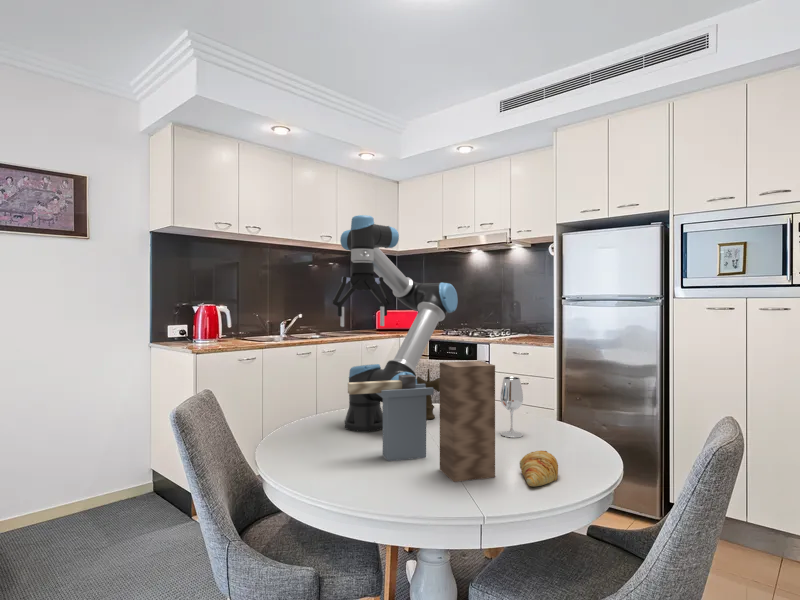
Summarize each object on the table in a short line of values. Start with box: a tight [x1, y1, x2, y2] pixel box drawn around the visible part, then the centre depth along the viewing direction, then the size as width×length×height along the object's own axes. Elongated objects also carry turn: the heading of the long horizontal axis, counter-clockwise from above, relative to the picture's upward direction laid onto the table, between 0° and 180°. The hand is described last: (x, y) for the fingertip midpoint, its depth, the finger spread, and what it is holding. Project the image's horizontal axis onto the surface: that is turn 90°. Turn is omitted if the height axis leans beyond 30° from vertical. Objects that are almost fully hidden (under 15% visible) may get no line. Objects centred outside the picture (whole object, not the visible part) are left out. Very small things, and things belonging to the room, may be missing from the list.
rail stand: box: [376, 384, 435, 462], centre depth 151 cm, size 16×8×21 cm, turn 107°
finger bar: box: [347, 375, 417, 395], centre depth 148 cm, size 20×4×4 cm, turn 107°
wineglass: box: [500, 376, 524, 439], centre depth 174 cm, size 8×8×20 cm
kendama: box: [416, 368, 440, 420], centre depth 198 cm, size 6×10×20 cm, turn 79°
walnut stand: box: [439, 360, 496, 483], centre depth 136 cm, size 12×10×30 cm
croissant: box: [519, 450, 559, 487], centre depth 134 cm, size 21×10×8 cm, turn 154°
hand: (362, 326), depth 165 cm, fingers open, 13 cm apart
